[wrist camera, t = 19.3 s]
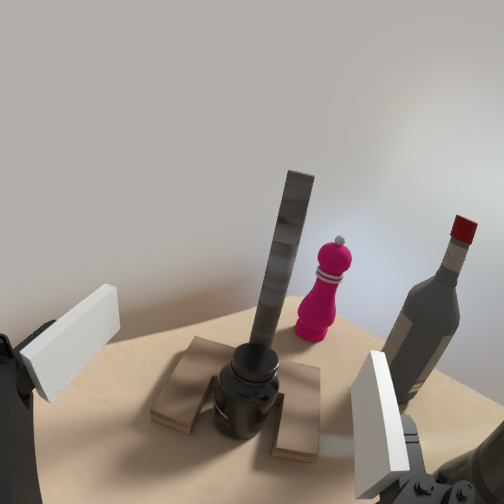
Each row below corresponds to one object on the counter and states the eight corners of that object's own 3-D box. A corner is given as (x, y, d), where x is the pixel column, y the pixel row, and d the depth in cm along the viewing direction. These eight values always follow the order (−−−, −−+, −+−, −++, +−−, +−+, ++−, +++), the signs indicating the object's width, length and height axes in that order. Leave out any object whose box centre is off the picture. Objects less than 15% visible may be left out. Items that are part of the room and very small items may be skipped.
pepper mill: (294, 341, 50) (326, 238, 43) (290, 319, 57) (317, 225, 50) (330, 345, 51) (367, 247, 43) (323, 323, 57) (353, 233, 50)
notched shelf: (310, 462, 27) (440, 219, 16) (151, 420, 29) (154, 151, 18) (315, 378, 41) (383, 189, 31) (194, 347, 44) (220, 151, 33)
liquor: (362, 389, 40) (441, 209, 29) (374, 360, 47) (438, 206, 37) (408, 409, 36) (500, 235, 25) (414, 378, 43) (486, 226, 32)
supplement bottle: (201, 427, 30) (210, 362, 25) (224, 393, 36) (237, 327, 32) (253, 449, 28) (278, 390, 24) (270, 412, 34) (295, 348, 30)
